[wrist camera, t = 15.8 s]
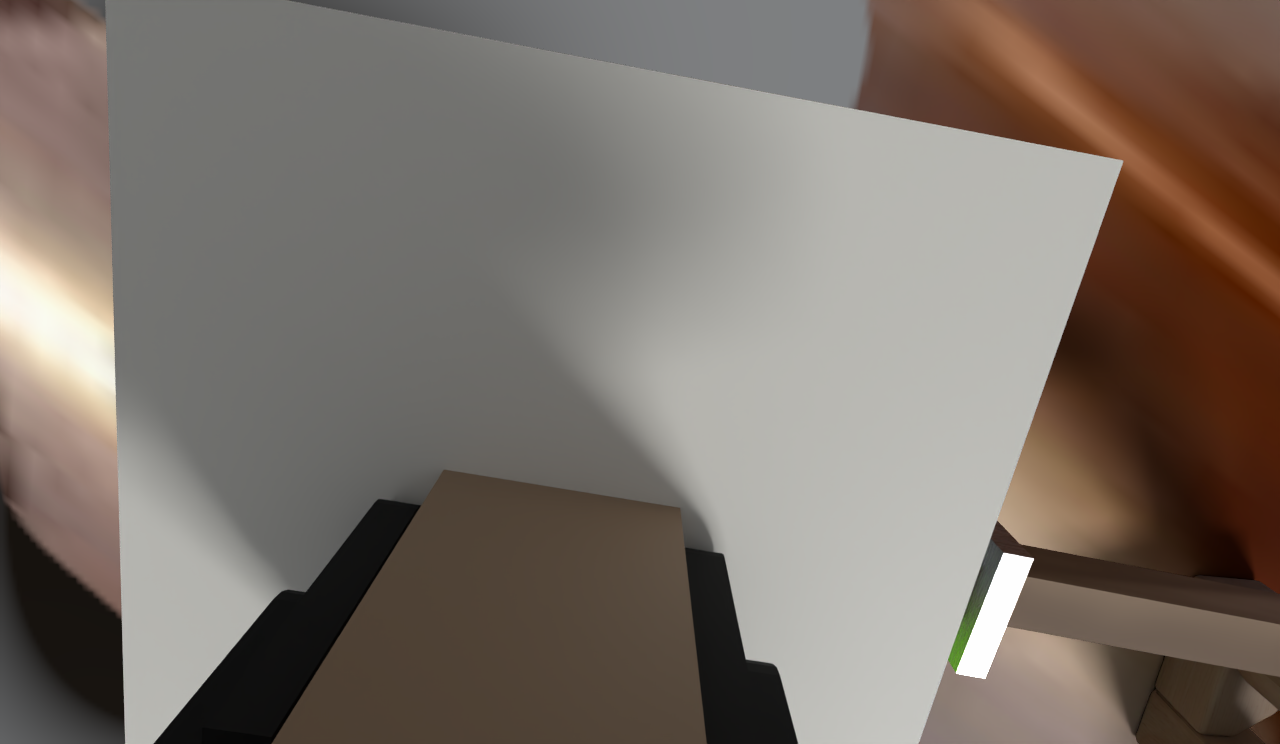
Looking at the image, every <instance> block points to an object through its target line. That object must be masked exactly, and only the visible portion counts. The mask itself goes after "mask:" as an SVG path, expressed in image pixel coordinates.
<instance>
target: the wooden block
mask: <svg viewBox="0 0 1280 744" xmlns="http://www.w3.org/2000/svg"><path fill="white" fill-rule="evenodd" d="M1194 578H1198V579H1203V580H1209V581H1214V582H1219V583H1224V584H1229V585H1235V586H1240V587H1245V588H1250V589H1256V590H1261V591H1266V592H1271V593H1276V592H1274V591H1273V590H1271V589H1270V588H1269V587H1267V586H1266V585H1264V584H1263V583H1261V582H1259V581H1256V580H1246V579H1235V578H1224V577H1213V576H1202V575H1198V576H1195V577H1194ZM1276 594H1277V593H1276ZM1155 685H1156V689H1157V690H1154V691H1153V692H1152V693H1151V695H1150V698H1149V700H1148V703H1147V706H1146V709H1145V711H1144V714H1143V717H1142V720H1141V722H1140V725H1139V728H1138V731H1137V734H1136V740H1137V742H1138V743H1139V744H1265V743H1264V742H1263V741H1262V740H1261V739H1259V738H1258V737H1257V736H1256V735H1255V734H1254V733H1253V732H1252V731H1251V730H1250V729H1249V727H1251V726H1253V725H1255V724H1256V723H1258V722H1260V721H1262V720H1264V719H1265V718H1267V717H1269V716H1271V715H1273V714H1274V713H1275V712H1276V711H1277V710H1279V711H1280V677H1278V676H1272V675H1267V674H1261V673H1256V672H1251V671H1245V670H1240V669H1234V668H1229V667H1224V666H1218V665H1213V664H1207V663H1202V662H1197V661H1191V660H1186V659H1180V658H1175V657H1169V656H1165V658H1164V661H1163V664H1162V667H1161V669H1160V672H1159V675H1158V678H1157V680H1156V683H1155Z"/></svg>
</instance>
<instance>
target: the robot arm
mask: <svg viewBox="0 0 1280 744" xmlns="http://www.w3.org/2000/svg"><path fill="white" fill-rule="evenodd" d="M420 507H421V505H416V504H410V503H403V502H397V501H391V500H385V499H378V500H377V501H376V502H375V503H374V504H373V505H372V507H371V508H370V509H369V510H368V512H367V513H366V514H365V516H364V517H363V518H362V520H361V521H360V522H359V523H358V525H357V526H356V527H355V529H354V530H353V531H352V533H351V534H350V535H349V537H348V538H347V539H346V540H345V542H344V543H343V544H342V546H341V547H340V548H339V550H338V551H337V552H336V553H335V555H334V556H333V557H332V559H331V560H330V561H329V563H328V564H327V565H326V566H325V568H324V569H323V570H322V572H321V573H320V574H319V576H318V577H317V578H316V580H315V581H314V582H313V583H312V585H311V586H310V587H309V589H308V590H307V591H306V592H302V591H295V590H284V591H281V592H280V593H279V594H278V595H277V596H276V597H275V598H274V599H273V600H272V601H271V602H270V604H269V605H268V606H267V607H266V608H265V610H264V611H263V612H262V613H261V614H260V616H259V617H258V618H257V619H256V621H255V622H254V623H253V624H252V625H251V627H250V628H249V629H248V630H247V631H246V633H245V634H244V635H243V636H242V637H241V639H240V640H239V641H238V642H237V643H236V645H235V646H234V647H233V648H232V649H231V651H230V652H229V653H228V654H227V655H226V657H225V658H224V659H223V660H222V662H221V663H220V664H219V665H218V666H217V668H216V669H215V670H214V671H213V672H212V674H211V675H210V676H209V677H208V678H207V680H206V681H205V682H204V683H203V684H202V686H201V687H200V688H199V689H198V690H197V692H196V693H195V694H194V695H193V697H192V698H191V699H190V700H189V701H188V703H187V704H186V705H185V706H184V707H183V709H182V710H181V711H180V712H179V713H178V715H177V716H176V717H175V718H174V719H173V721H172V722H171V723H170V724H169V725H168V727H167V728H166V729H165V730H164V732H163V733H162V734H161V735H160V736H159V738H158V739H157V740H156V741H155V742H154V744H272V742H273V741H274V739H275V738H276V736H277V734H278V733H279V731H280V730H281V728H282V726H283V725H284V723H285V722H286V720H287V718H288V717H289V715H290V714H291V712H292V710H293V709H294V707H295V706H296V704H297V703H298V701H299V699H300V698H301V696H302V695H303V693H304V691H305V690H306V688H307V687H308V685H309V683H310V682H311V680H312V679H313V677H314V675H315V674H316V672H317V671H318V669H319V667H320V666H321V664H322V663H323V661H324V660H325V658H326V656H327V655H328V653H329V652H330V650H331V648H332V647H333V645H334V644H335V642H336V640H337V639H338V637H339V636H340V634H341V632H342V631H343V629H344V628H345V626H346V624H347V623H348V621H349V620H350V618H351V617H352V615H353V613H354V612H355V610H356V609H357V607H358V605H359V604H360V602H361V601H362V599H363V597H364V596H365V594H366V593H367V591H368V589H369V588H370V586H371V585H372V583H373V581H374V580H375V578H376V577H377V575H378V574H379V572H380V570H381V569H382V567H383V566H384V564H385V562H386V561H387V559H388V558H389V556H390V554H391V553H392V551H393V550H394V548H395V546H396V545H397V543H398V542H399V540H400V538H401V537H402V535H403V534H404V532H405V531H406V529H407V527H408V526H409V524H410V523H411V521H412V519H413V518H414V516H415V515H416V513H417V511H418V510H419V508H420ZM685 555H686V564H687V572H688V581H689V590H690V599H691V608H692V617H693V626H694V635H695V644H696V653H697V662H698V670H699V679H700V688H701V697H702V706H703V715H704V724H705V733H706V742H707V744H798V741H797V737H796V733H795V729H794V726H793V722H792V718H791V714H790V711H789V707H788V703H787V699H786V696H785V692H784V688H783V684H782V681H781V677H780V674H779V672H778V669H777V667H776V666H775V665H774V664H773V663H766V662H760V661H753V660H747V659H746V658H745V653H744V649H743V644H742V639H741V634H740V629H739V624H738V620H737V615H736V610H735V605H734V600H733V596H732V591H731V586H730V581H729V576H728V571H727V567H726V562H725V557H724V555H723V554H722V553H717V552H710V551H704V550H698V549H692V548H685Z"/></svg>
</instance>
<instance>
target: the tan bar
mask: <svg viewBox="0 0 1280 744" xmlns="http://www.w3.org/2000/svg"><path fill="white" fill-rule="evenodd" d="M1020 545H1021V544H1020ZM1021 546H1022V547H1023V548H1024V549H1025V550H1026V551H1027V552H1028V553H1029V554H1030V555H1031V556H1032V557H1033V558H1034V560H1033V562H1032V565H1031V567H1030V569H1029V572H1028V574H1027V577H1026V579H1025V582H1024V584H1023V587H1022V589H1021V591H1020V594H1019V596H1018V599H1017V601H1016V604H1015V606H1014V609H1013V611H1012V613H1011V616H1010V618H1009V621H1008V623H1007V627H1013V628H1018V629H1024V630H1029V631H1034V632H1040V633H1045V634H1051V635H1056V636H1061V637H1067V638H1072V639H1078V640H1083V641H1088V642H1094V643H1099V644H1105V645H1110V646H1115V647H1121V648H1126V649H1132V650H1137V651H1142V652H1148V653H1153V654H1159V655H1164V656H1169V657H1175V658H1180V659H1186V660H1191V661H1197V662H1202V663H1207V664H1213V665H1218V666H1224V667H1229V668H1234V669H1240V670H1245V671H1251V672H1256V673H1261V674H1267V675H1272V676H1278V677H1280V594H1276V593H1271V592H1266V591H1261V590H1256V589H1250V588H1245V587H1240V586H1235V585H1229V584H1224V583H1219V582H1214V581H1209V580H1203V579H1198V578H1193V577H1188V576H1182V575H1177V574H1172V573H1167V572H1162V571H1156V570H1151V569H1146V568H1141V567H1136V566H1130V565H1125V564H1120V563H1115V562H1109V561H1104V560H1099V559H1094V558H1089V557H1083V556H1078V555H1073V554H1068V553H1062V552H1057V551H1052V550H1047V549H1042V548H1036V547H1031V546H1026V545H1021Z"/></svg>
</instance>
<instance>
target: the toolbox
mask: <svg viewBox="0 0 1280 744" xmlns="http://www.w3.org/2000/svg"><path fill="white" fill-rule="evenodd" d="M1033 560H1034V558H1033V557H1032V556H1031V555H1030V554H1029V553H1028V552H1027V551H1026V550H1025V549H1024V548H1023V547H1022V546H1021V545H1020V544H1019V543H1018V542H1017V541H1016V540H1015V539H1014V538H1013V537H1012V536H1011V534H1010V533H1009V532H1008V531H1007V530H1006V529H1005V528H1004V527H1003V526H1002V525H1001V524H1000V523H999V522H998V521H997V522H996V524H995V527H994V530H993V533H992V536H991V539H990V542H989V544H988V547H987V550H986V553H985V556H984V559H983V561H982V564H981V567H980V570H979V573H978V576H977V579H976V581H975V584H974V587H973V590H972V593H971V596H970V598H969V601H968V604H967V607H966V610H965V613H964V615H963V618H962V621H961V624H960V627H959V630H958V633H957V635H956V638H955V641H954V644H953V647H952V650H951V652H950V655H949V658H948V660H949V662H950V664H951V665H952V667H953V669H954V670H955V672H956V673H958V674H963V675H969V676H974V677H980V678H985V677H986V675H987V672H988V670H989V667H990V665H991V662H992V660H993V657H994V655H995V653H996V650H997V648H998V645H999V643H1000V640H1001V638H1002V635H1003V633H1004V631H1005V628H1006V626H1007V623H1008V621H1009V618H1010V616H1011V613H1012V611H1013V609H1014V606H1015V604H1016V601H1017V599H1018V596H1019V594H1020V591H1021V589H1022V587H1023V584H1024V582H1025V579H1026V577H1027V574H1028V572H1029V569H1030V567H1031V565H1032V562H1033Z"/></svg>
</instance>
